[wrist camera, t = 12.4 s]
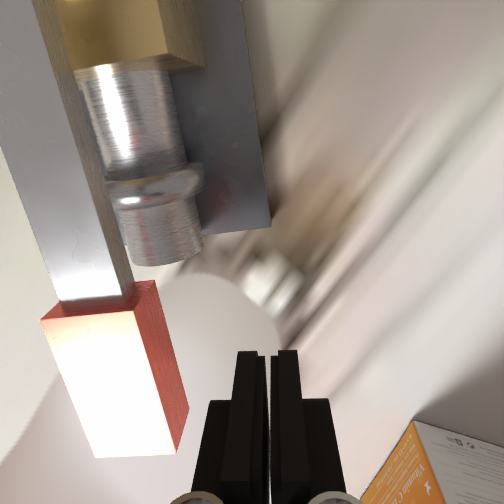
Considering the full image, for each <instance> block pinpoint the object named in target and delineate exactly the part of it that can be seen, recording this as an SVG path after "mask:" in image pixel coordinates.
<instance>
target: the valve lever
mask: <svg viewBox="0 0 504 504" xmlns="http://www.w3.org/2000/svg"><path fill="white" fill-rule="evenodd" d="M0 146H1V148H2V151H3V154H4V156H5V159H6V162H7V164H8V167H9V170H10V172H11V175H12V177H13V180H14V183H15V185H16V188H17V191H18V193H19V196H20V199H21V201H22V204H23V206H24V209H25V212H26V214H27V217H28V220H29V222H30V225H31V228H32V230H33V233H34V236H35V238H36V241H37V243H38V246H39V249H40V251H41V254H42V257H43V259H44V262H45V265H46V267H47V270H48V273H49V275H50V278H51V280H52V283H53V286H54V288H55V291H56V294H57V296H58V299H59V303H58V304H57V305H56V306H54V307H53V308H52V309H51V310H50V311H49V312H48V313H47V314H46V315H45V316H44V317H42V318H41V319H40V322H41V325H42V327H43V330H44V332H45V334H46V337H47V339H48V342H49V344H50V347H51V349H52V352H53V354H54V357H55V359H56V361H57V364H58V366H59V369H60V371H61V374H62V376H63V379H64V381H65V383H66V386H67V388H68V391H69V393H70V396H71V398H72V400H73V403H74V406H75V408H76V410H77V413H78V415H79V418H80V420H81V423H82V425H83V428H84V430H85V432H86V435H87V437H88V440H89V442H90V445H91V447H92V450H93V452H94V455H95V457H96V458H100V457H119V456H140V455H158V454H159V455H160V454H176V452H177V449H178V446H179V442H180V439H181V436H182V432H183V429H184V426H185V422H186V419H187V415H188V412H189V406H188V402H187V398H186V395H185V391H184V387H183V384H182V380H181V376H180V372H179V369H178V365H177V361H176V358H175V354H174V350H173V346H172V343H171V339H170V335H169V331H168V328H167V325H166V321H165V317H164V313H163V310H162V306H161V302H160V298H159V294H158V291H157V287H156V283H155V280H149V281H139V282H135V281H134V277H133V274H132V271H131V267H130V264H129V260H128V257H127V253H126V250H125V247H124V243H123V240H122V236H121V233H120V229H119V226H118V223H117V219H116V216H115V212H114V209H113V205H112V202H111V198H110V195H109V192H108V188H107V185H106V181H105V178H104V174H103V171H102V168H101V164H100V161H99V157H98V154H97V150H96V147H95V144H94V140H93V137H92V133H91V130H90V126H89V123H88V120H87V116H86V113H85V109H84V106H83V102H82V99H81V96H80V92H79V89H78V85H77V82H76V78H75V75H74V71H73V68H72V65H71V61H70V58H69V54H68V51H67V47H66V44H65V41H64V37H63V34H62V30H61V27H60V23H59V20H58V17H57V13H56V10H55V6H54V3H53V0H0Z"/></svg>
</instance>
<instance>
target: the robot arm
mask: <svg viewBox="0 0 504 504" xmlns="http://www.w3.org/2000/svg"><path fill="white" fill-rule="evenodd" d="M270 392H271V393H270V394H271V396H270V399H271V400H270V430H269V414H268V398H267V382H266V366H265V356H258V353H257V351H239V352H238V355H237V362H236V369H235V376H234V384H233V391H232V398H231V400H211V401H210V403H209V407H208V412H207V416H206V421H205V426H204V431H203V435H202V440H201V445H200V450H199V455H198V459H197V465H196V469H195V474H194V479H193V484H192V488H191V492H190V493H187V494H184V495H182V496H180V497H178V498H177V499H175V500H173V502H171V503H170V504H269V481H270V485H271V502H272V504H363V503H362V502H361V501H360V500H358V499H357V498H355V497H353V496H352V495H350V494H347V493H346V487H345V482H344V477H343V472H342V466H341V461H340V456H339V451H338V445H337V440H336V435H335V430H334V424H333V419H332V414H331V409H330V404H329V400H328V398H320V399H302V393H301V383H300V373H299V363H298V354H297V350H278V356H271V390H270Z"/></svg>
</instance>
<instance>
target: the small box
mask: <svg viewBox="0 0 504 504" xmlns="http://www.w3.org/2000/svg"><path fill="white" fill-rule="evenodd" d="M360 501H361V502H362V503H363V504H504V448H502V447H499V446H496V445H493V444H490V443H486V442H483V441H480V440H477V439H473V438H470V437H467V436H464V435H461V434H457V433H454V432H451V431H448V430H445V429H441V428H438V427H434V426H431V425H428V424H424V423H421V422H418V421H412V422H411V423H410V425H409V427H408V428H407V430H406V432H405V434H404V435H403V437H402V439H401V440H400V442H399V443H398V445H397V446H396V448H395V449H394V451H393V452H392V454H391V455H390V457H389V458H388V460H387V461H386V463H385V464H384V466H383V467H382V469H381V470H380V472H379V473H378V475H377V476H376V478H375V479H374V481H373V482H372V484H371V485H370V486H369V488H368V489H367V491H366V492H365V494H364V495H363V496H362V498H361V499H360Z"/></svg>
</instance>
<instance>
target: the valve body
mask: <svg viewBox="0 0 504 504" xmlns="http://www.w3.org/2000/svg"><path fill="white" fill-rule="evenodd" d="M53 3H54V6H55V10H56V13H57V17H58V20H59V23H60V27H61V30H62V34H63V37H64V41H65V44H66V47H67V51H68V54H69V58H70V61H71V65H72V68H73V71H74V75H75V78H76V82H77V85H78V89H79V92H80V96H81V99H82V102H83V106H84V109H85V113H86V116H87V120H88V123H89V126H90V130H91V133H92V137H93V140H94V144H95V147H96V150H97V154H98V157H99V161H100V164H101V168H102V171H103V174H104V178H105V181H106V185H107V188H108V192H109V195H110V198H111V202H112V205H113V209H114V212H115V216H116V219H117V223H118V226H119V229H120V233H121V236H122V240H123V243H124V245H127V246H128V250H129V253H130V257H131V260H132V262H133V263H134V264H136V265H139V266H160V265H166V264H171V263H175V262H178V261H181V260H184V259H187V258H189V257H191V256H193V255H195V254H197V253H198V252H199V251H201V250H202V249H203V247H204V245H205V244H204V239H203V235H210V234H219V233H227V232H235V231H243V230H251V229H259V228H267V227H271V224H272V219H271V212H270V204H269V197H268V190H267V183H266V176H265V169H264V161H263V154H262V147H261V140H260V133H259V126H258V118H257V111H256V104H255V97H254V90H253V83H252V75H251V68H250V61H249V54H248V47H247V40H246V32H245V25H244V18H243V11H242V4H241V0H53Z"/></svg>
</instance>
